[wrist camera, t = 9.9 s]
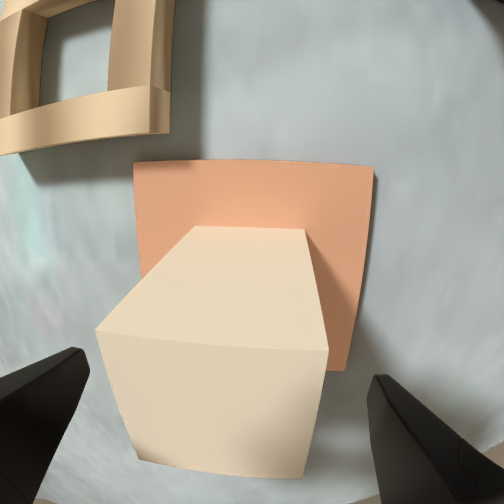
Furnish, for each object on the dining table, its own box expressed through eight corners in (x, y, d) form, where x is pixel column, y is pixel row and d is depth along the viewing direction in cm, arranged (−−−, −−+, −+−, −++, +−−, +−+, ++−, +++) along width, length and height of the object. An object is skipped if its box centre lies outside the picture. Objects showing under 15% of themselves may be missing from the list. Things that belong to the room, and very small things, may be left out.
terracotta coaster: (370, 166, 14) (373, 167, 13) (343, 364, 17) (344, 371, 17) (137, 161, 15) (132, 162, 14) (157, 351, 18) (153, 357, 18)
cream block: (304, 229, 14) (329, 350, 6) (297, 325, 16) (302, 478, 8) (194, 225, 15) (94, 329, 6) (200, 319, 17) (139, 459, 8)
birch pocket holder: (180, -46, 11) (165, -69, 8) (170, 133, 14) (149, 132, 12) (30, 2, 12) (6, -6, 9) (17, 153, 15) (-11, 157, 13)
